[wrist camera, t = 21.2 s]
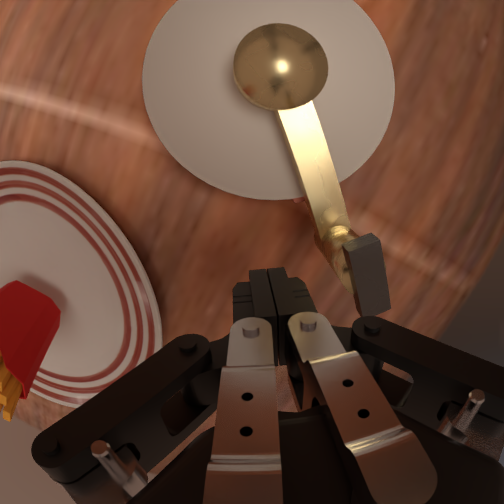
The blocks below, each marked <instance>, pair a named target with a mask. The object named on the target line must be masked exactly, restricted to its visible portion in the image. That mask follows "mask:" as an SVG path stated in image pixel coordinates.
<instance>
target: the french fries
mask: <svg viewBox="0 0 504 504" xmlns="http://www.w3.org/2000/svg"><path fill="white" fill-rule="evenodd" d="M60 315H61V311H60V309H59V308H58V307H57V305H56V304H55V303H54V301H53V300H52V299H51V298H50V297H48V296H46V295H45V294H43V293H41V292H39V291H37V290H36V289H34V288H32V287H30V286H28V285H26V284H24V283H22V282H20V281H18V280H15V281H12V282H10V283H7V284H6V285H5V286H3V287H2V288H0V412H1V409H2V407H3V405H5V407H4V409H3V419H5V420H7V421H9V422H10V421H11V419H12V416H13V413H14V410H15V408H16V405H17V402H18V400H19V398H20V399H26V398H27V396H28V393H29V391H30V388H31V386H32V384H33V381H34V379H35V377H36V375H37V372H38V370H39V368H40V366H41V363H42V361H43V359H44V357H45V355H46V353H47V351H48V349H49V347H50V344H51V342H52V340H53V338H54V336H55V334H56V332H57V330H58V329H59V327H60Z"/></svg>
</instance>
